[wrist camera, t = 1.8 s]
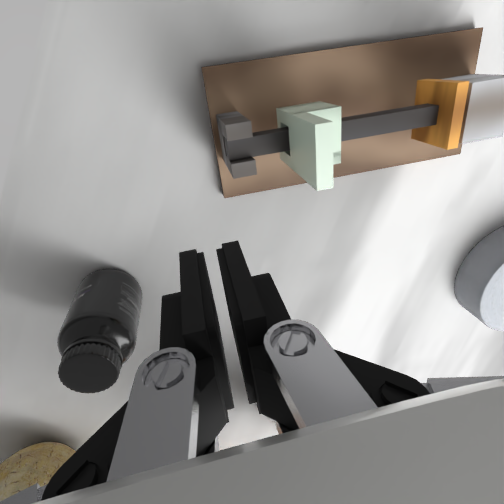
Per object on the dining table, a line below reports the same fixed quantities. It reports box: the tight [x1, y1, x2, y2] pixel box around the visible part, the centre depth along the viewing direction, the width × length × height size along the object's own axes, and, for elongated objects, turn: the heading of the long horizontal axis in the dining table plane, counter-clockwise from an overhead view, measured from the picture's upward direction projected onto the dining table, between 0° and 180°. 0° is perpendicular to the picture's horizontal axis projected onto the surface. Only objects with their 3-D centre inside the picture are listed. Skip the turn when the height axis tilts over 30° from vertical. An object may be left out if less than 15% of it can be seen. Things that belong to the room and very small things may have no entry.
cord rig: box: [202, 28, 504, 198], centre depth 31 cm, size 12×27×9 cm, turn 97°
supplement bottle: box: [57, 269, 142, 393], centre depth 34 cm, size 7×7×12 cm
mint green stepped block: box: [276, 101, 341, 191], centre depth 27 cm, size 4×4×9 cm
